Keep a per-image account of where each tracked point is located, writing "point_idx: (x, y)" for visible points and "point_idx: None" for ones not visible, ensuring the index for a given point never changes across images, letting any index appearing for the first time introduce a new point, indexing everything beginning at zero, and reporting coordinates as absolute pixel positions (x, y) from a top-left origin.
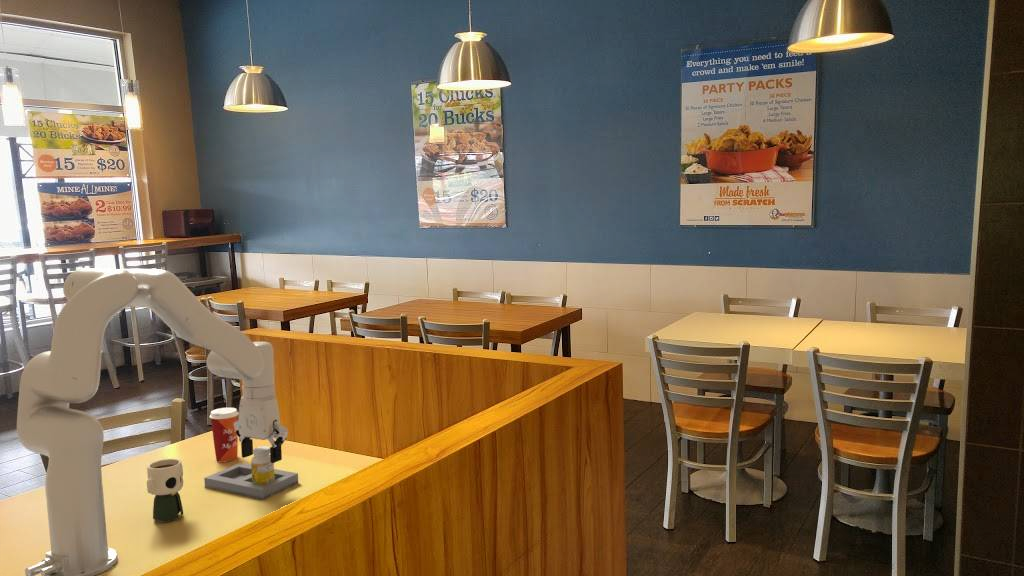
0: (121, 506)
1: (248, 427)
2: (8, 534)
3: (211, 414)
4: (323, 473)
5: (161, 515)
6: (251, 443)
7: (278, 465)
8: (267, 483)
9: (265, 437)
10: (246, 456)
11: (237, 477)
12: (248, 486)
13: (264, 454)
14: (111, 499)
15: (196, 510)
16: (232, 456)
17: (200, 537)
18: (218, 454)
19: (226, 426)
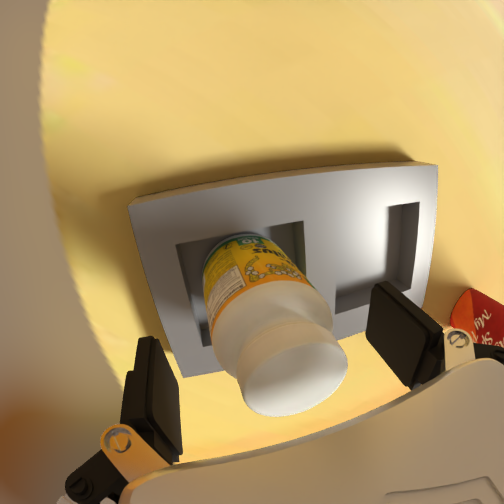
0: (445, 6)
1: (452, 484)
2: None
3: None
4: (192, 413)
5: None
6: (399, 370)
7: (347, 372)
8: (203, 272)
9: (133, 492)
10: (371, 300)
11: (383, 258)
12: (222, 190)
13: (238, 363)
14: (480, 38)
15: (275, 9)
16: (458, 316)
17: None
18: (480, 296)
19: None
